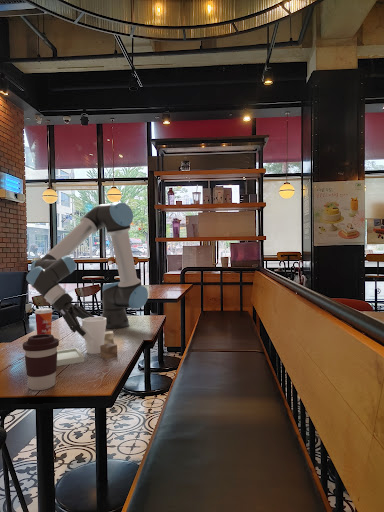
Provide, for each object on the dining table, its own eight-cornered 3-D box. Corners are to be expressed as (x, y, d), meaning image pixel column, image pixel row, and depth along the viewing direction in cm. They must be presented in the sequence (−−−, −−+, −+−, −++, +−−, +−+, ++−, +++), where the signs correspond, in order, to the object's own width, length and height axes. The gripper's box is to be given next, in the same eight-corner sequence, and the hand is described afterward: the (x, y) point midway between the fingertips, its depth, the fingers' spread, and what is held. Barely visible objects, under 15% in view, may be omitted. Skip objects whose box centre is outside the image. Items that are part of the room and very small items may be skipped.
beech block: (112, 341, 158) (112, 331, 158) (113, 343, 154) (113, 333, 154) (102, 342, 157) (102, 331, 157) (102, 344, 152) (102, 334, 152)
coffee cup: (54, 392, 101) (52, 339, 101) (18, 393, 101) (16, 341, 100) (63, 379, 111) (62, 331, 111) (31, 380, 110) (30, 333, 110)
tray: (77, 352, 140) (77, 347, 140) (83, 361, 129) (83, 356, 129) (41, 358, 134) (41, 352, 134) (45, 367, 123) (45, 362, 123)
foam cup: (85, 356, 136) (84, 322, 135) (80, 350, 144) (80, 318, 144) (109, 352, 140) (109, 319, 140) (104, 347, 148) (103, 316, 148)
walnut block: (110, 354, 138) (110, 343, 137) (117, 356, 135) (117, 345, 134) (100, 357, 134) (100, 345, 134) (107, 359, 131) (107, 347, 131)
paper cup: (46, 342, 157) (46, 310, 157) (31, 341, 159) (30, 310, 159) (56, 338, 165) (56, 308, 165) (42, 337, 166) (41, 307, 166)
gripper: (65, 301, 154) (100, 335, 154) (38, 310, 129) (79, 351, 129) (77, 288, 154) (111, 323, 154) (52, 296, 129) (93, 337, 129)
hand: (97, 336), depth 141 cm, fingers open, 13 cm apart
